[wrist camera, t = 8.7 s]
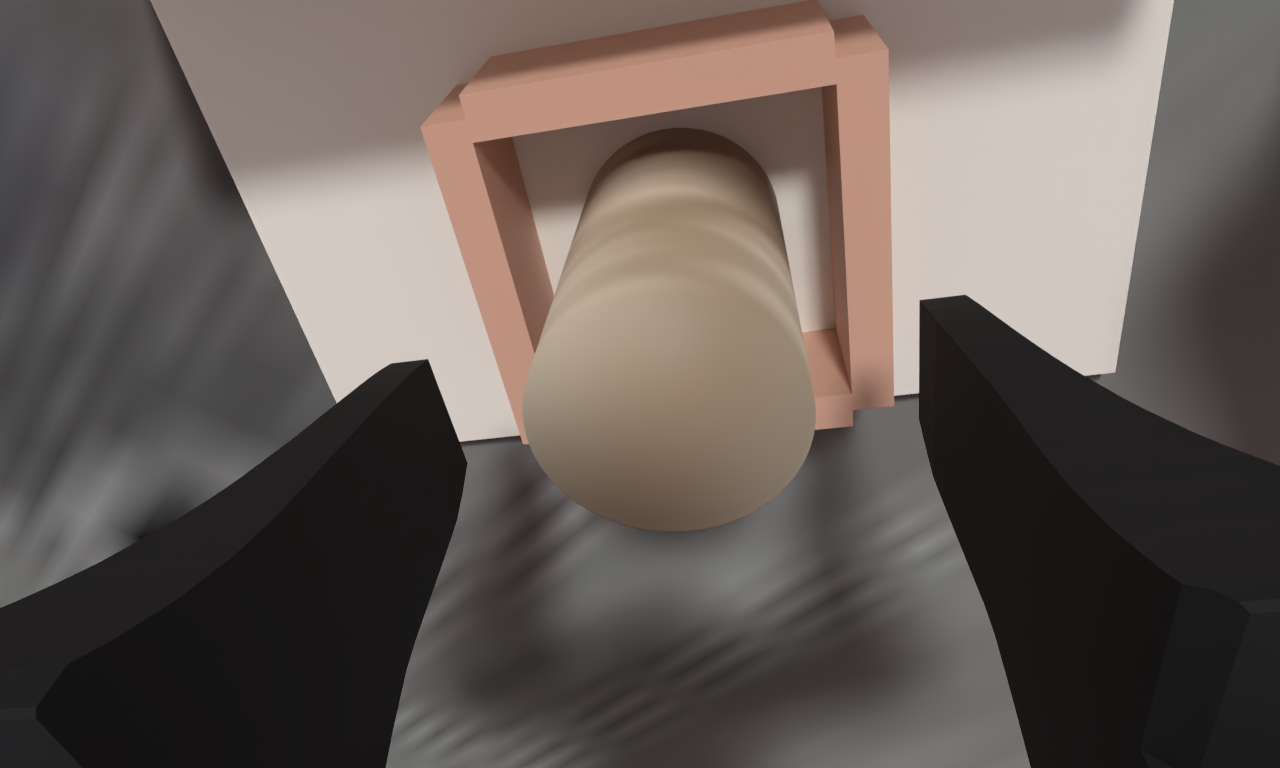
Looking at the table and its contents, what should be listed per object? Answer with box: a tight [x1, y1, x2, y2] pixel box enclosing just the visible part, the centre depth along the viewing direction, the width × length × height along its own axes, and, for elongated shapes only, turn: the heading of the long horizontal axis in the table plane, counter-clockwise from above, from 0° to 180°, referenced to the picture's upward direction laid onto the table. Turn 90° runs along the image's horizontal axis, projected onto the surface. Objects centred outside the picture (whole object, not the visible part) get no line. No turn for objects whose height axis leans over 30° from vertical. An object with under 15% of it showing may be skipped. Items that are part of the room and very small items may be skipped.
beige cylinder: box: [522, 128, 816, 532], centre depth 15 cm, size 4×4×7 cm
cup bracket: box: [150, 0, 1174, 444], centre depth 15 cm, size 18×12×5 cm
